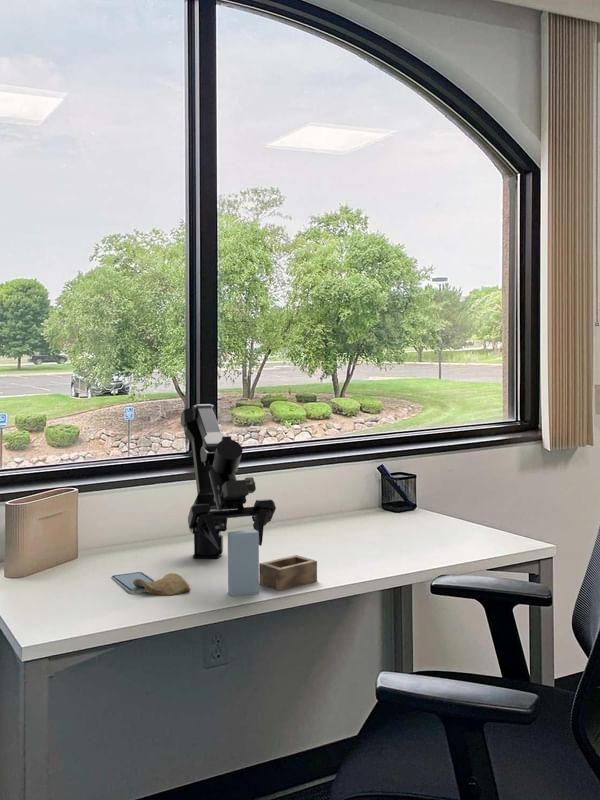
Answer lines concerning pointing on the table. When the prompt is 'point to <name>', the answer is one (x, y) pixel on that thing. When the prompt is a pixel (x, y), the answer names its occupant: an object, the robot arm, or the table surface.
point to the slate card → (243, 562)
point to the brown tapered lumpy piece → (164, 585)
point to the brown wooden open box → (287, 572)
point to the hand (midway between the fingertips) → (240, 546)
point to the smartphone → (131, 581)
